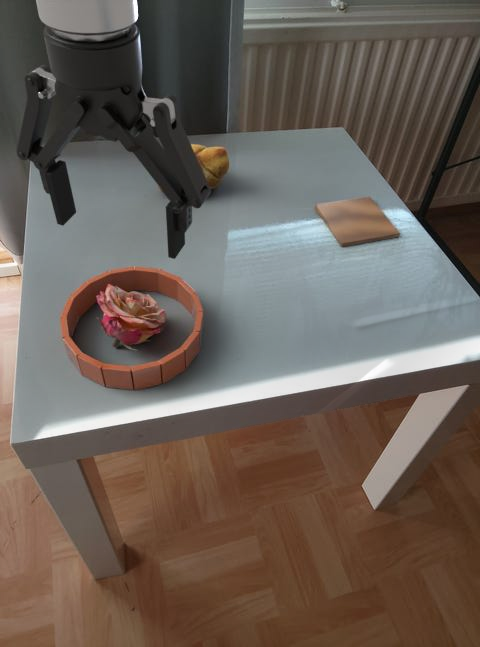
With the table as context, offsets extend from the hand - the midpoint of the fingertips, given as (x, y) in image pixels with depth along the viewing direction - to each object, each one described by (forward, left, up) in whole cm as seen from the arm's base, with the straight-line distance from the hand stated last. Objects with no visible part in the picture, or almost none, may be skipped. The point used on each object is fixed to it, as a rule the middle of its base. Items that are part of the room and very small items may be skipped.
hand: (120, 234), depth 56 cm
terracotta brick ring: (0, 0, -17) cm, 17 cm away
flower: (0, 0, -17) cm, 17 cm away
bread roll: (+24, -27, -17) cm, 40 cm away
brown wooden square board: (-2, -44, -17) cm, 47 cm away
